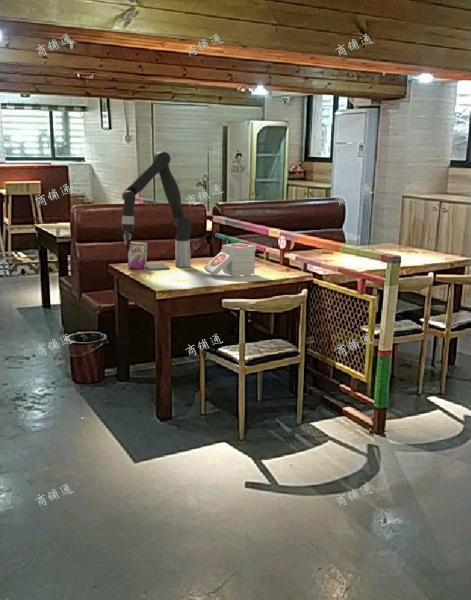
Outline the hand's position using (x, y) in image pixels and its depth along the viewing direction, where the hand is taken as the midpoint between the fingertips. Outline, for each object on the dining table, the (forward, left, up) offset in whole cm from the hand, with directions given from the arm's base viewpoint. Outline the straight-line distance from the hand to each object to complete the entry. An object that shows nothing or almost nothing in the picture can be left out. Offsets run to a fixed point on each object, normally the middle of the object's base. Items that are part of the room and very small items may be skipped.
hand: (127, 250), depth 395 cm
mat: (-19, 0, -12) cm, 22 cm away
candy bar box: (-6, 0, -12) cm, 13 cm away
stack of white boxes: (-56, +35, -12) cm, 68 cm away
